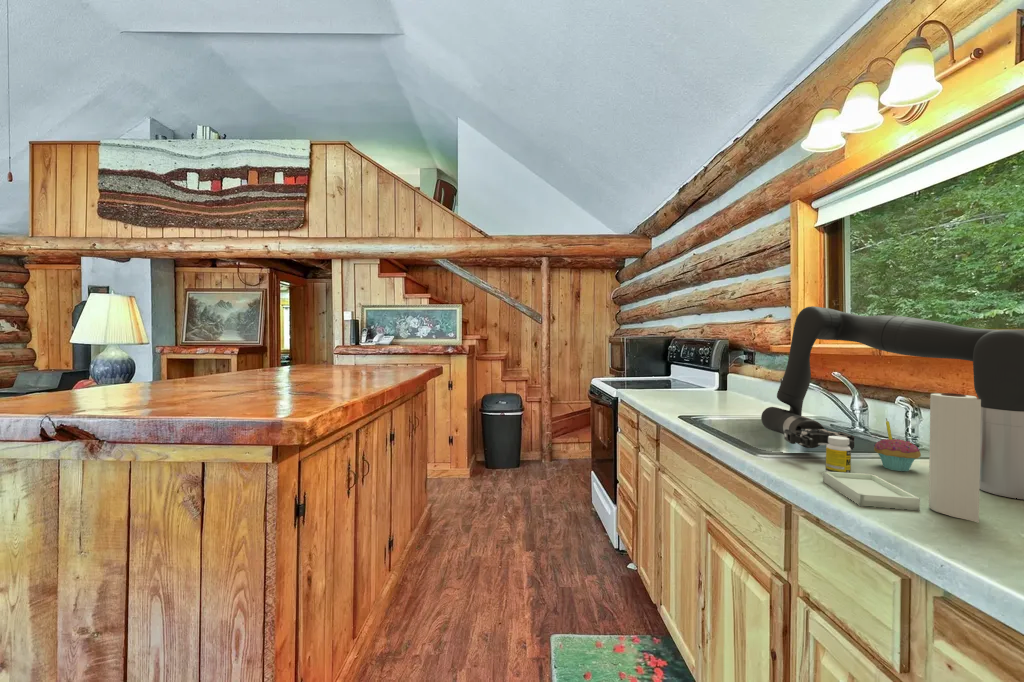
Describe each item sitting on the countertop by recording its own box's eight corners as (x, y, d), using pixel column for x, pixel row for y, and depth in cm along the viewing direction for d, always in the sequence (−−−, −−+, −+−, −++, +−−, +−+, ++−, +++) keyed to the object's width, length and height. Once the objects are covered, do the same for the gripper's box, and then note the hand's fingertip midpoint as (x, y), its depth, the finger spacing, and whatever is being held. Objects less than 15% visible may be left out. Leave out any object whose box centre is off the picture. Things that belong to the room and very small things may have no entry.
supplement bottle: (850, 478, 102) (851, 440, 102) (825, 474, 105) (825, 437, 105) (850, 473, 106) (851, 437, 106) (826, 469, 109) (826, 434, 109)
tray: (873, 484, 98) (873, 474, 98) (919, 510, 83) (919, 498, 83) (822, 481, 100) (823, 471, 100) (859, 506, 85) (860, 494, 85)
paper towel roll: (927, 503, 87) (929, 391, 86) (972, 511, 83) (974, 394, 82) (930, 515, 81) (932, 395, 81) (978, 524, 77) (980, 398, 77)
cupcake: (878, 470, 108) (878, 420, 108) (870, 461, 116) (870, 414, 115) (925, 475, 104) (926, 423, 104) (913, 466, 112) (914, 417, 111)
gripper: (774, 416, 126) (798, 427, 110) (832, 418, 123) (865, 430, 107) (774, 443, 126) (798, 458, 110) (832, 446, 123) (865, 462, 107)
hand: (831, 444), depth 109 cm, fingers open, 8 cm apart
